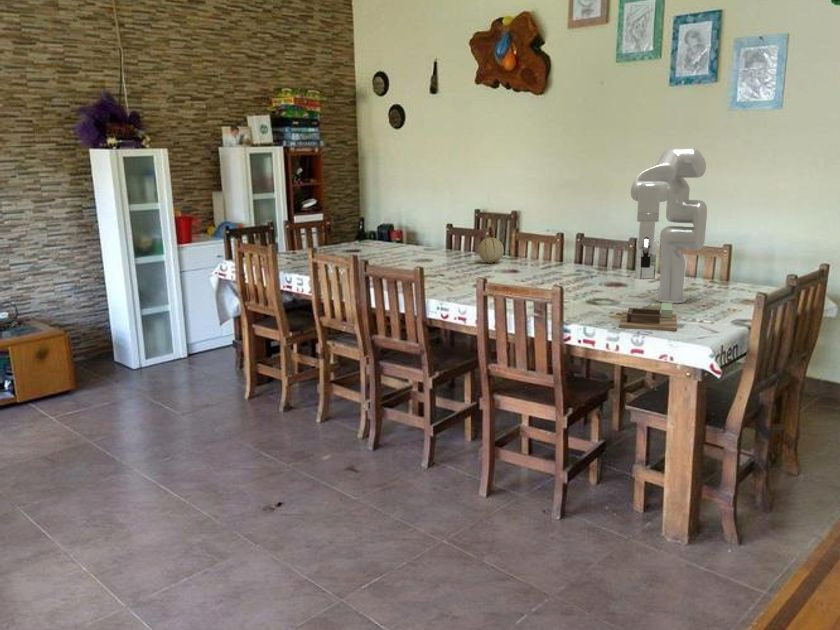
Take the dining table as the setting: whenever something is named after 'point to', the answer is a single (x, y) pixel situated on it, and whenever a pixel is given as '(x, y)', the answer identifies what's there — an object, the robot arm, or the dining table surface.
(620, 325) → the socket board
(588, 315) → the dining table surface
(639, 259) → the syrup box
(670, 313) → the bar
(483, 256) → the cantaloupe
